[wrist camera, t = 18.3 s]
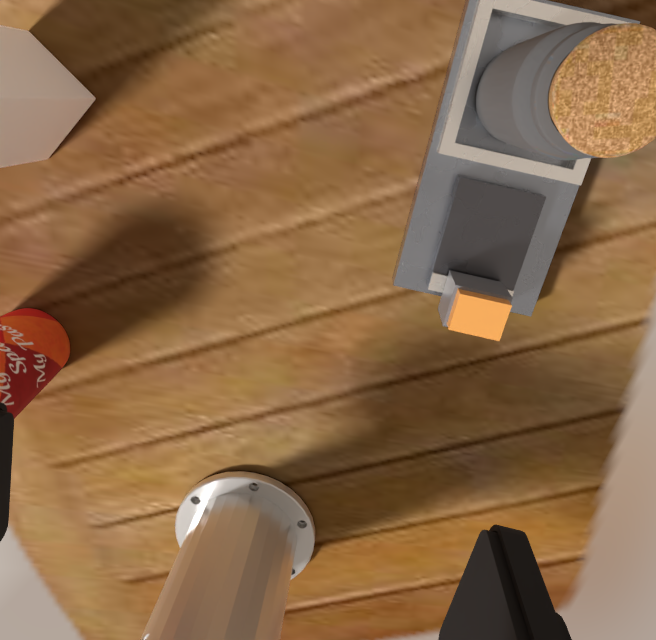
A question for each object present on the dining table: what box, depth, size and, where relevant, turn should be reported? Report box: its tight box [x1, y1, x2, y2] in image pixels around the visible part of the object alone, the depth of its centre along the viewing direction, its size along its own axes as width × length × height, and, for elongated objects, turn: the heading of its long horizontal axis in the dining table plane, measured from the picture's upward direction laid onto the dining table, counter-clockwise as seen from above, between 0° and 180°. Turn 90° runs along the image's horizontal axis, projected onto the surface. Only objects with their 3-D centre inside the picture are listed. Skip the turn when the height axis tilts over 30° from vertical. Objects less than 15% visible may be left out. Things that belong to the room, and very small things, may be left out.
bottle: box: [475, 22, 656, 160], centre depth 28 cm, size 6×6×15 cm
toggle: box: [438, 270, 513, 341], centre depth 37 cm, size 3×4×4 cm
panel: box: [393, 0, 640, 316], centre depth 37 cm, size 19×10×4 cm, turn 168°
